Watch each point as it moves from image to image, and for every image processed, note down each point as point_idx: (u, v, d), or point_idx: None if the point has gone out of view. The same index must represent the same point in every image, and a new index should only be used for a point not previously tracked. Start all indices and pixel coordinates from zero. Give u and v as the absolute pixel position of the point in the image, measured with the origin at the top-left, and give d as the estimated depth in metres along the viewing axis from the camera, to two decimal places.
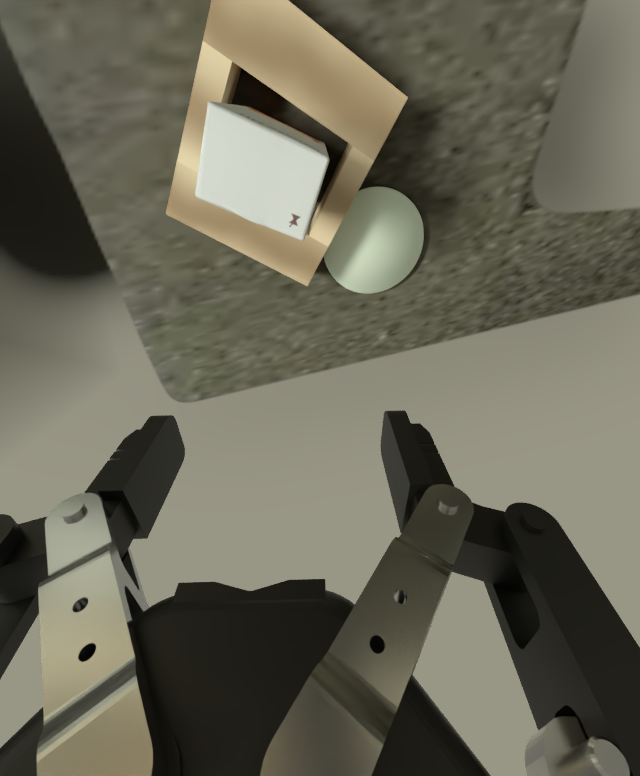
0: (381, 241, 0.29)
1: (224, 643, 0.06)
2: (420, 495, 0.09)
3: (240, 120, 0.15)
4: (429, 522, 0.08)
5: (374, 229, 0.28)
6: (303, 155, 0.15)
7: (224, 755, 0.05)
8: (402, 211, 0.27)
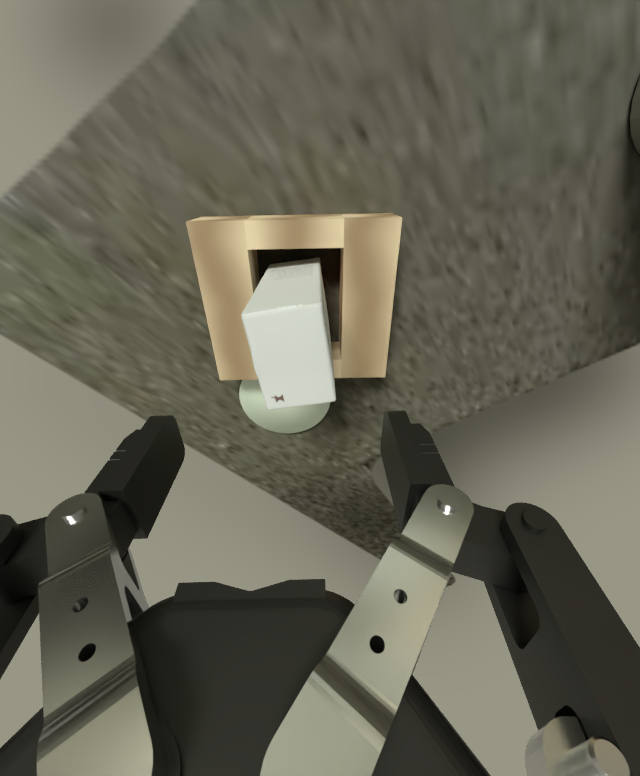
0: None
1: (224, 643, 0.06)
2: (420, 495, 0.09)
3: (322, 332, 0.16)
4: (429, 522, 0.08)
5: None
6: (327, 384, 0.18)
7: (225, 755, 0.05)
8: None
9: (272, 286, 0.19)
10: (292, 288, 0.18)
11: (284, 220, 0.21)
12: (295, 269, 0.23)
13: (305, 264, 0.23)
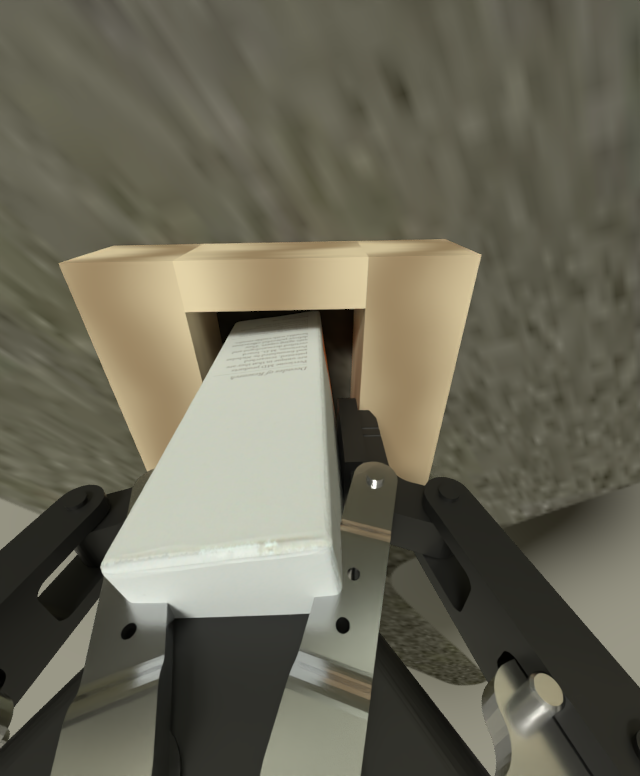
0: None
1: (224, 643, 0.06)
2: None
3: None
4: (354, 493, 0.08)
5: None
6: None
7: (224, 753, 0.05)
8: None
9: (221, 407, 0.09)
10: (260, 427, 0.08)
11: (252, 260, 0.11)
12: (276, 344, 0.12)
13: (295, 330, 0.13)
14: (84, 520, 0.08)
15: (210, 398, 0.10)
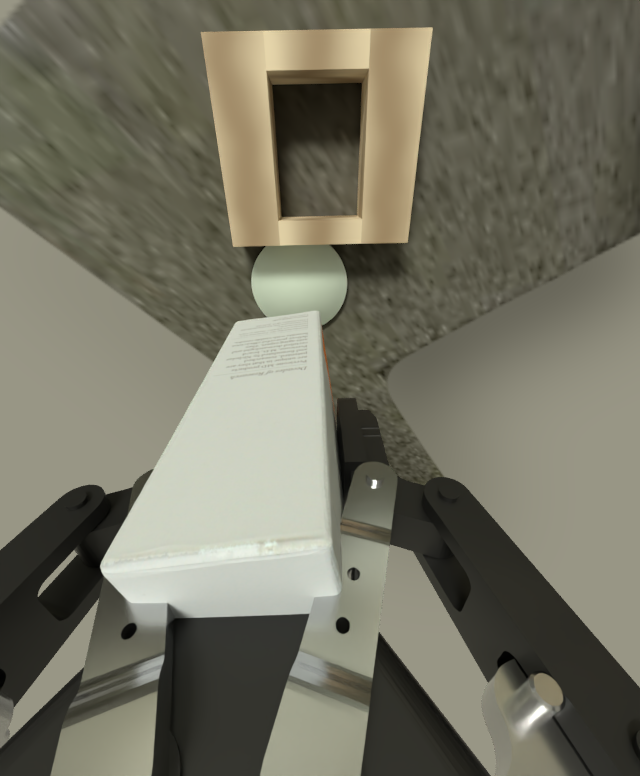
0: (306, 290, 0.31)
1: (224, 643, 0.06)
2: None
3: None
4: (354, 493, 0.08)
5: (311, 278, 0.30)
6: None
7: (225, 755, 0.05)
8: (336, 291, 0.31)
9: (221, 406, 0.09)
10: (260, 427, 0.08)
11: (306, 31, 0.20)
12: (276, 344, 0.12)
13: (295, 330, 0.13)
14: (84, 520, 0.08)
15: (210, 398, 0.10)
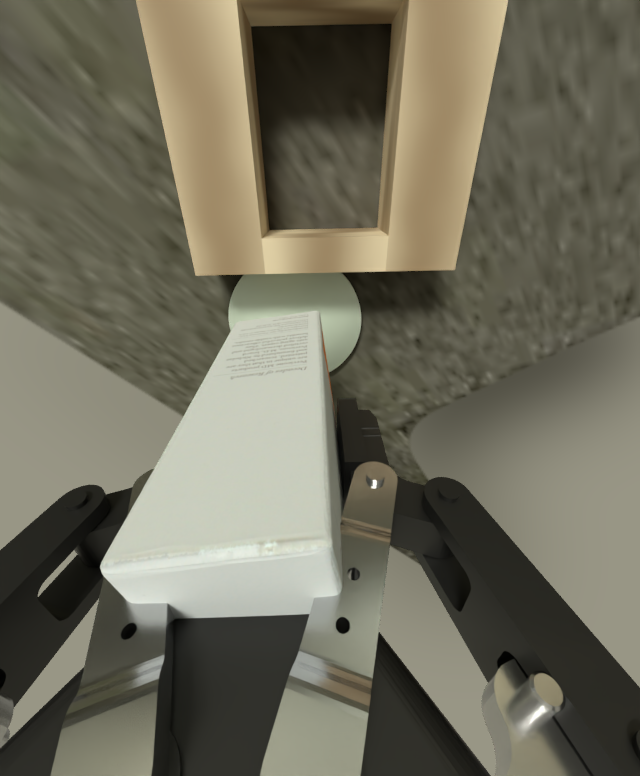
0: None
1: (224, 643, 0.06)
2: None
3: (334, 595, 0.06)
4: (354, 494, 0.08)
5: None
6: None
7: (224, 755, 0.05)
8: (345, 331, 0.22)
9: (221, 406, 0.09)
10: (260, 427, 0.08)
11: None
12: (276, 344, 0.12)
13: (295, 330, 0.13)
14: (84, 520, 0.08)
15: (210, 398, 0.10)
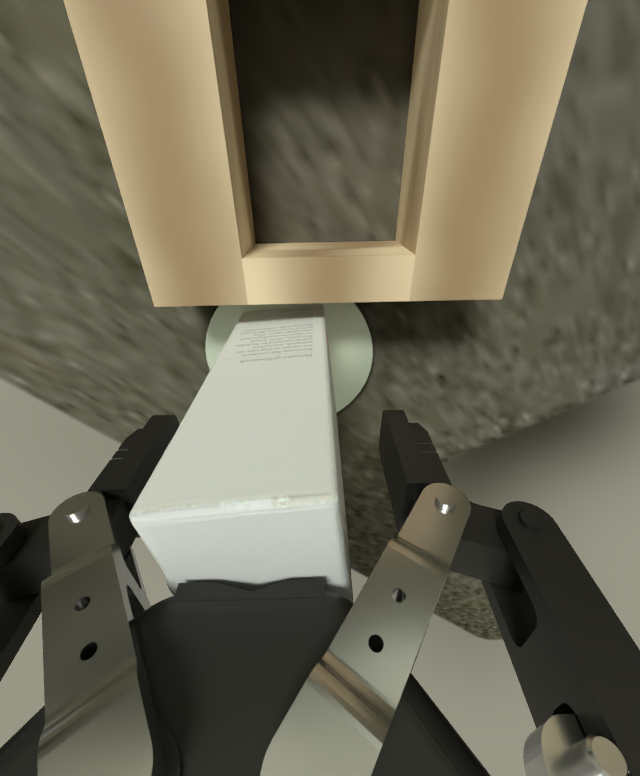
0: None
1: (224, 643, 0.06)
2: (418, 494, 0.09)
3: (337, 550, 0.07)
4: (426, 520, 0.08)
5: None
6: None
7: (225, 755, 0.05)
8: (353, 368, 0.18)
9: (233, 386, 0.10)
10: (270, 404, 0.09)
11: None
12: (282, 333, 0.13)
13: (300, 321, 0.14)
14: None
15: (222, 379, 0.10)
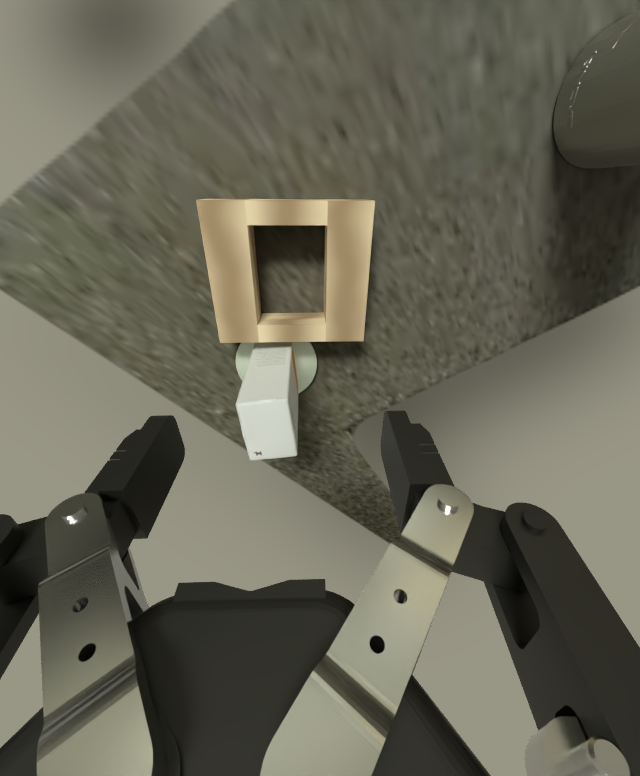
0: None
1: (224, 643, 0.06)
2: (420, 495, 0.09)
3: (288, 415, 0.25)
4: (429, 522, 0.08)
5: None
6: (291, 445, 0.27)
7: (225, 754, 0.05)
8: (307, 369, 0.37)
9: (256, 374, 0.28)
10: (270, 379, 0.27)
11: (278, 201, 0.26)
12: (273, 354, 0.32)
13: (281, 348, 0.33)
14: None
15: (252, 371, 0.29)
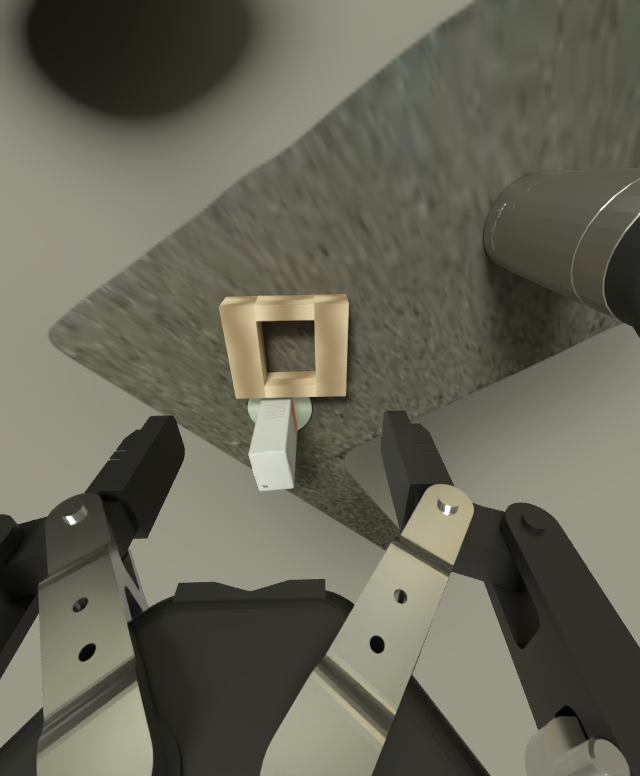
0: None
1: (224, 643, 0.06)
2: (420, 495, 0.09)
3: (286, 461, 0.35)
4: (429, 522, 0.08)
5: None
6: (289, 481, 0.37)
7: (224, 755, 0.05)
8: (304, 412, 0.46)
9: (263, 426, 0.38)
10: (273, 432, 0.37)
11: (278, 305, 0.35)
12: (276, 406, 0.41)
13: (282, 401, 0.42)
14: None
15: (260, 424, 0.39)
